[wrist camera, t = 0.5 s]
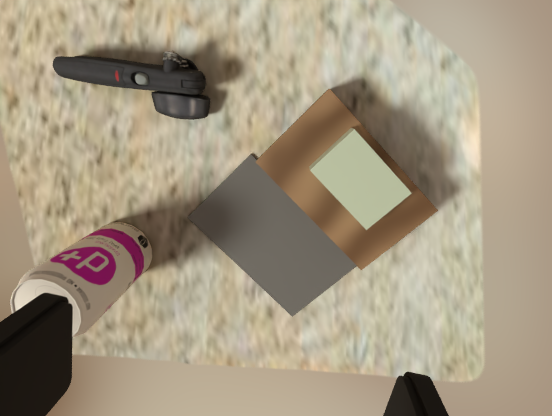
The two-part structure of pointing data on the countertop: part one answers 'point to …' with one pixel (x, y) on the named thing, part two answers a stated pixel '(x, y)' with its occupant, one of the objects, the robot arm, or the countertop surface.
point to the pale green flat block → (359, 179)
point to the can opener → (146, 81)
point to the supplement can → (89, 273)
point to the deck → (319, 200)
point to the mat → (271, 237)
